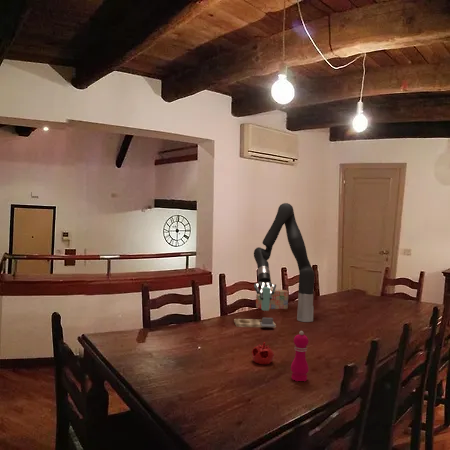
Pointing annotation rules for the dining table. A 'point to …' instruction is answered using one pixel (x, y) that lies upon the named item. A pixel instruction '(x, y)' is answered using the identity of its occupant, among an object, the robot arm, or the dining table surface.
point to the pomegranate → (262, 354)
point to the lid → (267, 322)
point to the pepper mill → (300, 358)
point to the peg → (265, 298)
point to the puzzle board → (249, 323)
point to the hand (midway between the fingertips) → (266, 299)
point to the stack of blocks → (275, 300)
